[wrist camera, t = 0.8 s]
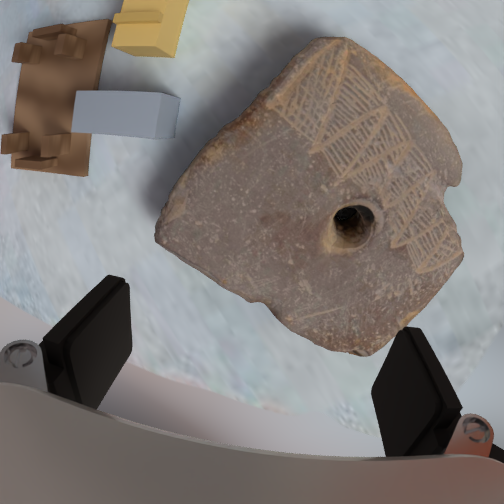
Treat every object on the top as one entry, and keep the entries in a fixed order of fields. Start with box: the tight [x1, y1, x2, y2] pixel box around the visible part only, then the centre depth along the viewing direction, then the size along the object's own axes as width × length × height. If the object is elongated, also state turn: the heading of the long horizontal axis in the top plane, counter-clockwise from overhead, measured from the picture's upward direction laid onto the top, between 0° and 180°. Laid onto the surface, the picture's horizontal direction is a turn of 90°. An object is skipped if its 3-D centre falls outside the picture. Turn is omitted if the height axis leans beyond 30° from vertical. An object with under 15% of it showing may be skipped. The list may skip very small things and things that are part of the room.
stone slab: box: [154, 37, 464, 357], centre depth 32 cm, size 31×29×6 cm
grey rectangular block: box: [71, 91, 181, 139], centre depth 30 cm, size 4×10×6 cm, turn 80°
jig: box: [1, 19, 112, 177], centre depth 30 cm, size 20×14×6 cm
